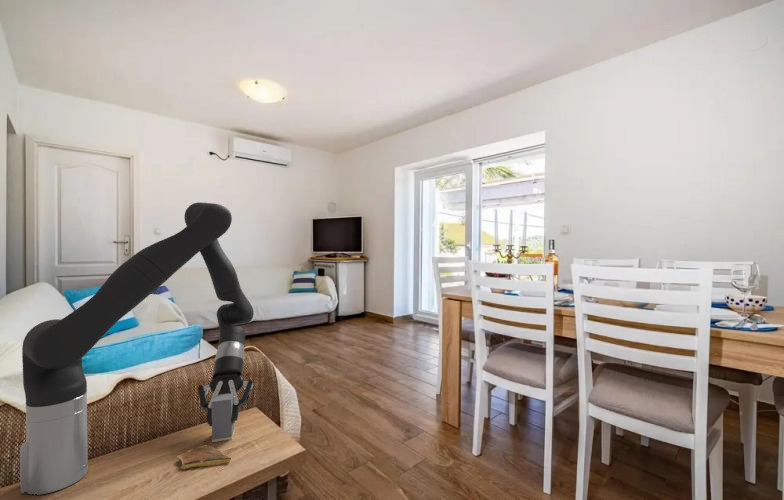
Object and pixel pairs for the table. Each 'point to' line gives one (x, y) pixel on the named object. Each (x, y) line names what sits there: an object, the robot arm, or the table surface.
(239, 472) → the table surface
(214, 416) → the sanding block
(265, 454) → the table surface
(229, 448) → the table surface
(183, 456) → the shard
